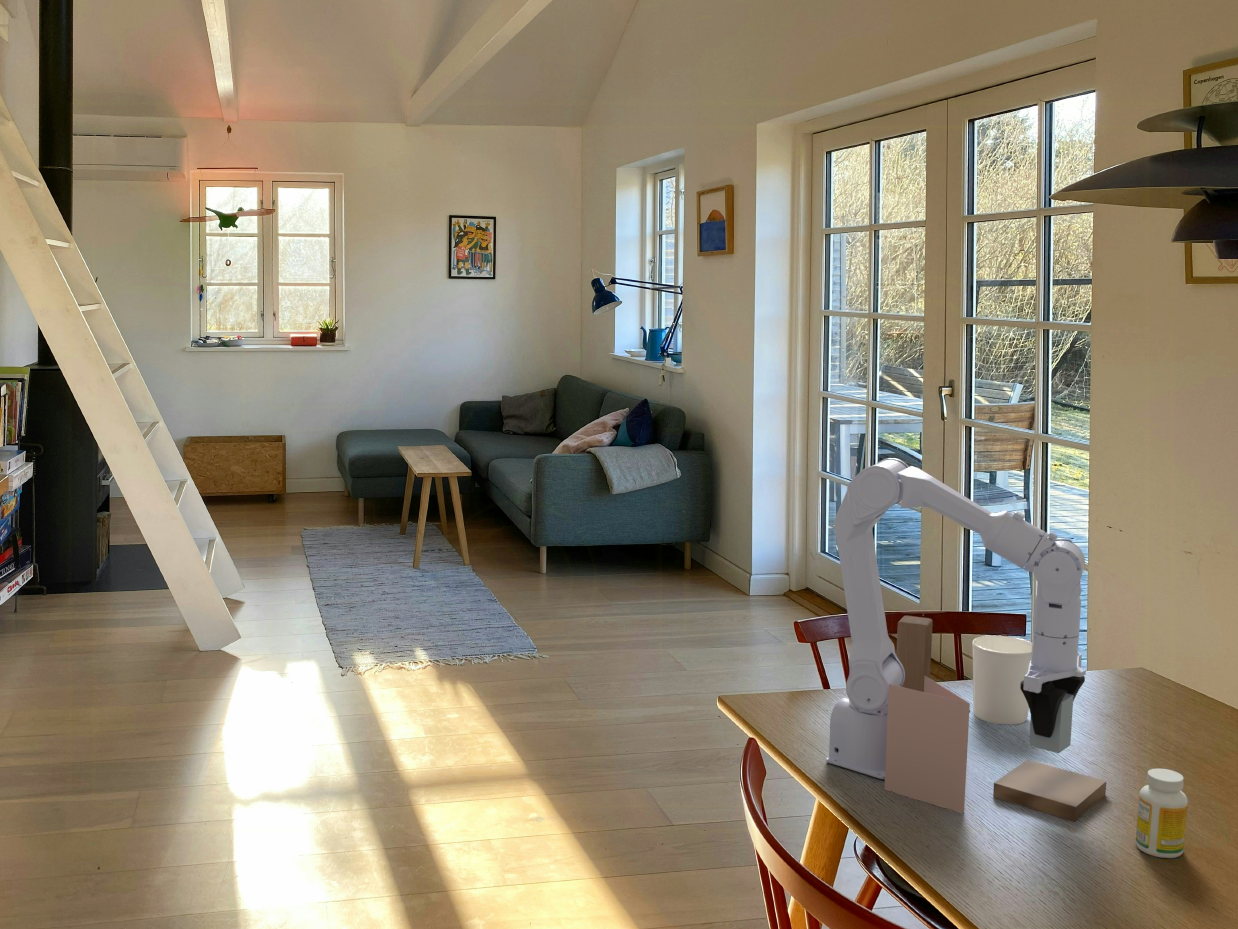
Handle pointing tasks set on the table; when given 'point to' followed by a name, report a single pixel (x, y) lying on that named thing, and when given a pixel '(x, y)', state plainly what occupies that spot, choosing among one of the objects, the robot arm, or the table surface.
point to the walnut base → (1050, 789)
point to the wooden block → (914, 650)
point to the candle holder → (1000, 679)
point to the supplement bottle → (1162, 814)
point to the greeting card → (927, 745)
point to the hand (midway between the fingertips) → (1049, 730)
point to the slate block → (1056, 729)
